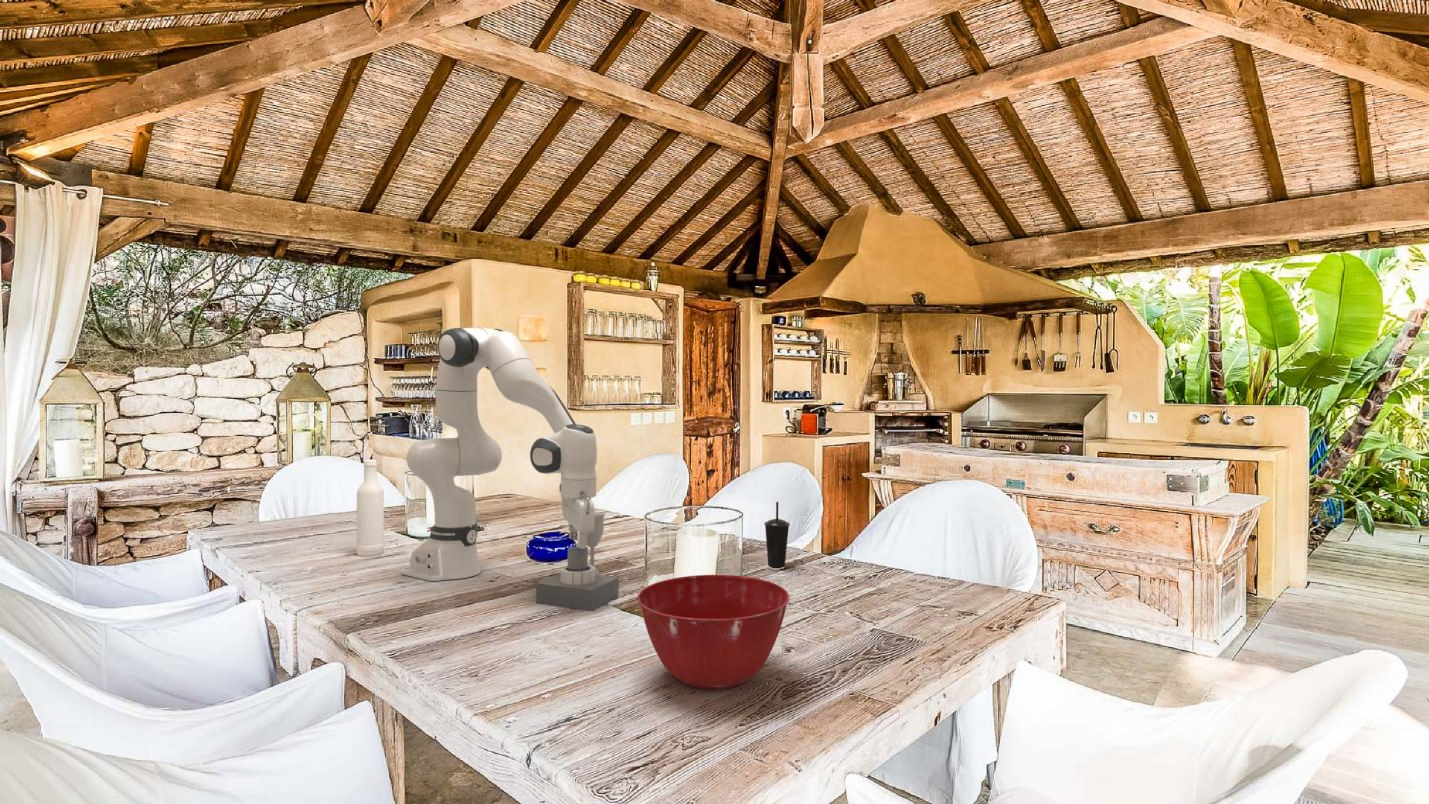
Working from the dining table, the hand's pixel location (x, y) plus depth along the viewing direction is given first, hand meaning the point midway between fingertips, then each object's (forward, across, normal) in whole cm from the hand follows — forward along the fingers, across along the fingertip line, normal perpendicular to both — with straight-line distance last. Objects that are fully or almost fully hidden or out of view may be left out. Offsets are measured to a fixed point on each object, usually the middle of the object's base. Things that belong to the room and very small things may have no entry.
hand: (577, 543), depth 182 cm
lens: (+9, -1, 0) cm, 9 cm away
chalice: (+15, +19, -9) cm, 26 cm away
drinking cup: (+14, +9, -62) cm, 65 cm away
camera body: (+14, -1, 0) cm, 14 cm away
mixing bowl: (+13, -57, -12) cm, 60 cm away
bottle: (+16, +74, +50) cm, 90 cm away
